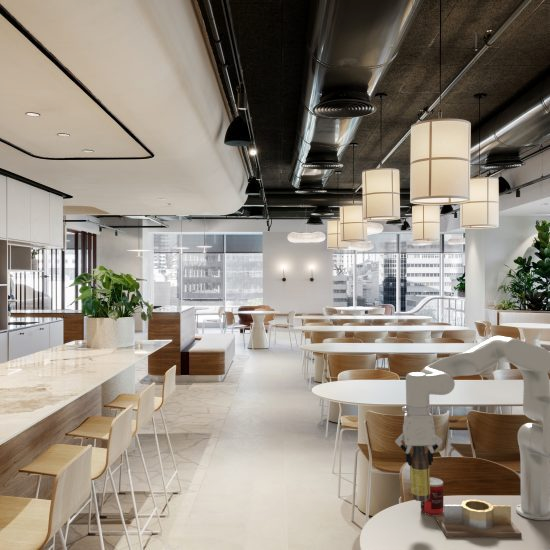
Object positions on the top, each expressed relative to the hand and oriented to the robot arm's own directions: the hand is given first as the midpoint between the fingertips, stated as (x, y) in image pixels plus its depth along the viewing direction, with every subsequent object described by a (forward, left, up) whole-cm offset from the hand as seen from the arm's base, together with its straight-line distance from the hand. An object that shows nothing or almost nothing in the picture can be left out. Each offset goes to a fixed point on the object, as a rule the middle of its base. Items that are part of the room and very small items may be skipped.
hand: (419, 463), depth 193 cm
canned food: (-15, +8, -22) cm, 28 cm away
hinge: (-2, +20, -21) cm, 28 cm away
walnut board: (-2, +20, -22) cm, 30 cm away
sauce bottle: (0, 0, -12) cm, 12 cm away
